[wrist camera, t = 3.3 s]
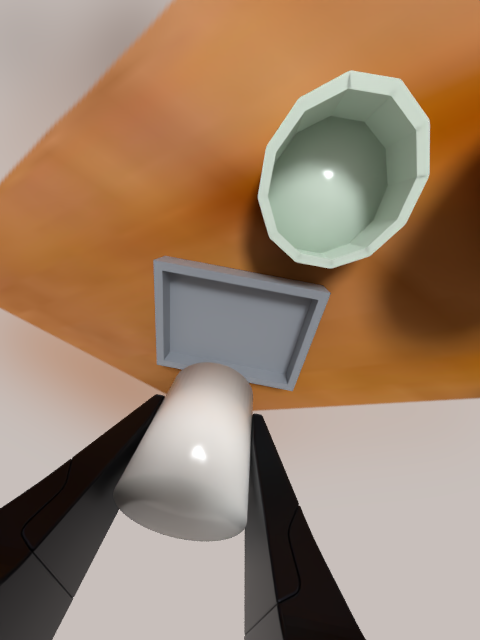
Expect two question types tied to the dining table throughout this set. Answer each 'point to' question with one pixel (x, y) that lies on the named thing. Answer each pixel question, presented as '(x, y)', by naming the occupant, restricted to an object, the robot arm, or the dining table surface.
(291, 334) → the parts tray
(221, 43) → the dining table surface
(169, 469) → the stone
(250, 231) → the dining table surface
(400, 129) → the bowl
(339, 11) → the dining table surface
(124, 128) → the dining table surface
